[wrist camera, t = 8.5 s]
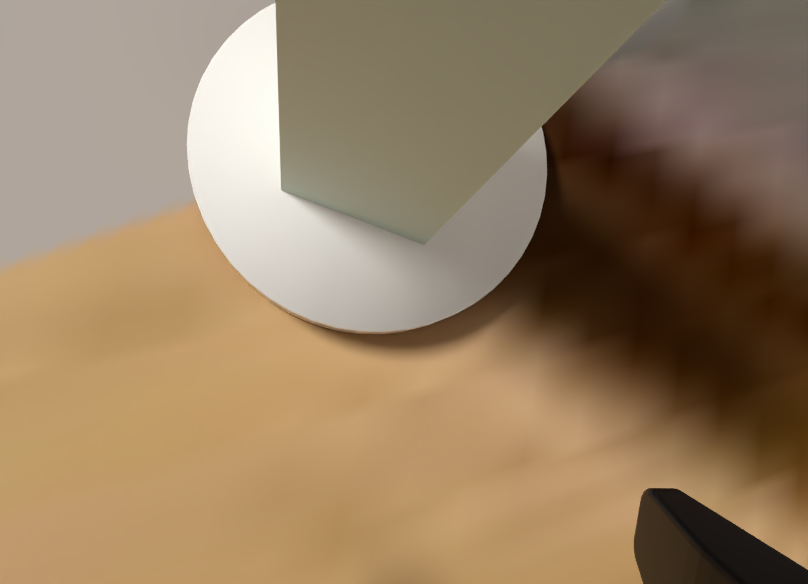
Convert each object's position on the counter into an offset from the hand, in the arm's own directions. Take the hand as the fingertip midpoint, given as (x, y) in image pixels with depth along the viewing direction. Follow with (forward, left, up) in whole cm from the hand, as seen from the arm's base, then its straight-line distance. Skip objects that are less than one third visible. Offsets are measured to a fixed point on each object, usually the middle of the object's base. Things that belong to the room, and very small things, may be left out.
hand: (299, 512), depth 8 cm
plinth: (+7, +6, -10) cm, 13 cm away
